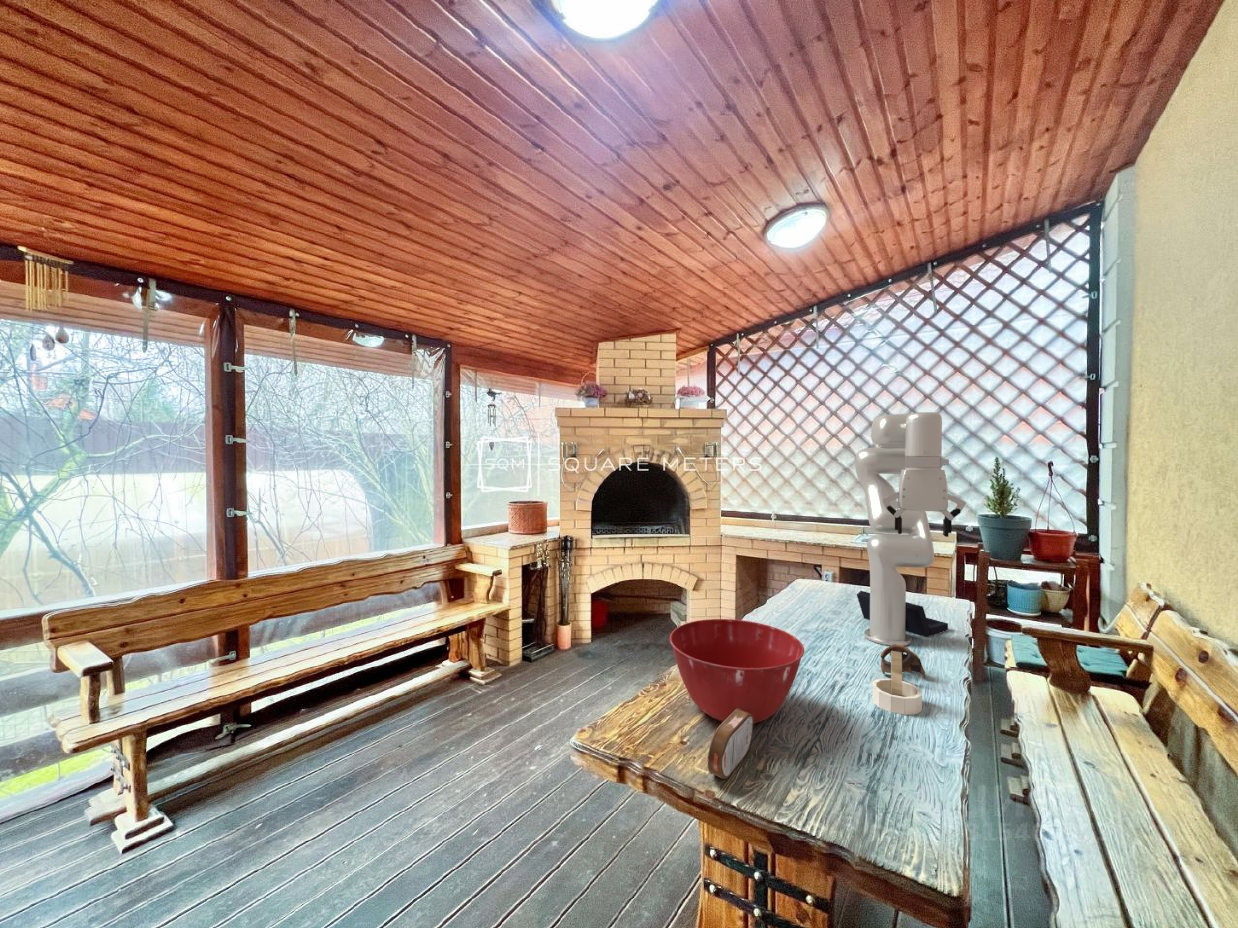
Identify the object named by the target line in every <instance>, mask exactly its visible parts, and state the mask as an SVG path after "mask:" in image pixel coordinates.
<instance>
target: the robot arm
mask: <svg viewBox="0 0 1238 928" xmlns="http://www.w3.org/2000/svg"><path fill="white" fill-rule="evenodd" d="M870 429H871V431H870V439H871V441H872V443H873V444H874V445H876V446H877V447H868V448H862V449H860V450H859V451H858V452H857V453H856V455H855V457H854V468H855V472H856V473H855V474H856V477H857V479H858V481H859V483H860V485H861V488H862V490H863V492H864V495H865V502H866V504H865V505H866V511H867V518H868V523H869V526H870V528H871V530H873V531H874V532H877V533H880V534H874V535H872V536H871V537H870V538H869V539H868V541H867V543H866V548H867V549H866V551H867V556H868V563H869V593H870V620H869V628H868V629H865V630H864V632H863V635H864V637H865V638H866V640H869V641H871V642H873V643H876V644H880V645H883V646H888V647H890V646H892V645H895V644H896V645H902V646H905V647H907V646H908V645H911V643H912V637H910V635H908V634H907V633H906V631H905V619H906V602H907V601H906V599H907V597H906V596H907V595H906V594H907V585H906V581H905V578H904V577H903V575H902V574H901V573H900V572H899V571H898V570H897V568H902V567H903V568H917V569H919V568H922V569H923V568H928V567H931V566H932V565H933V563H934V560H935V550H934V548H935V547H934V543H933V538H932V534H931V528H930V524H929V519H928V514H927V512H940V513H941V514H942V515H943V516H944V518H943V521H942V535H943V536H944V537H946V538H949V535H950V534H952V526H953V525H952V521H953V520H954V519H955V518H956V517H957V516H958V515H960V514H961V512H962V511H963V509H964V508H965V506H966V504H967V502H966V501H965V500H962V499H961V498H958V497H956V496H954V495H952V494H950V493H949V491H948V482H947V475H946V471H945V469H942V468H943V466H949V463H950V460H949V458H948V459H947V458H944V457H943V456H942V455H943V453H942V445H943V440H942V439H943V437H942V436H943V417H942V415H941V414H940V413H938V412H933V411H932V412H931V411H925V412H923V411H922V412H913V413H907V414H905V413H903V414H902V413H901V414H899V413H898V414H897V413H895V414H883V415H879V416H875V418H874V419H873V422H872V424H871V428H870ZM881 474H882V475H886V474H887V475H899V481H898V492H896V491H895V489H894V487H893V485H891V484H890V483H889V481H888V480H886V479H885V478H884V477H882V475H881ZM897 499H898V500H897ZM949 501H951V502H952V503H955V504H956V506H955V508H954V509H952V510H951V511H949V510H948V507H949Z"/></svg>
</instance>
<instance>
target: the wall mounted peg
mask: <svg viewBox="0 0 1238 928" xmlns="http://www.w3.org/2000/svg"><path fill="white" fill-rule="evenodd" d="M890 662H891V673H890V679H891V693H889V694H891V695H896V696H902V697H908V696H903V695H902V681H903V672H902V652H897V651H891V655H890ZM886 693H887V692H886Z"/></svg>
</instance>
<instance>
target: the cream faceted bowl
mask: <svg viewBox="0 0 1238 928" xmlns="http://www.w3.org/2000/svg"><path fill="white" fill-rule="evenodd" d="M871 682H872V686H871V687H872V688H871V689H872V690H871V691H872V692H871V696H872V703H874V704H875V706H877V707H878V708H879V709H882V710H884V711H888V712H890V713H892V714H893V713H894V714H900V715H905V716H906V715H907V716H909V715H917V714H919V713H921V712H922V711H923V693H922V690H921V689H920V688H919V687H917V686H916V685H914V684H912V683H910V682H907V681H903V680H902V695H903V696H908V697H902V696H896V695H891V694H889V693H891V678H877V679H875V680H873V681H871ZM886 692H887V693H886Z"/></svg>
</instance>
